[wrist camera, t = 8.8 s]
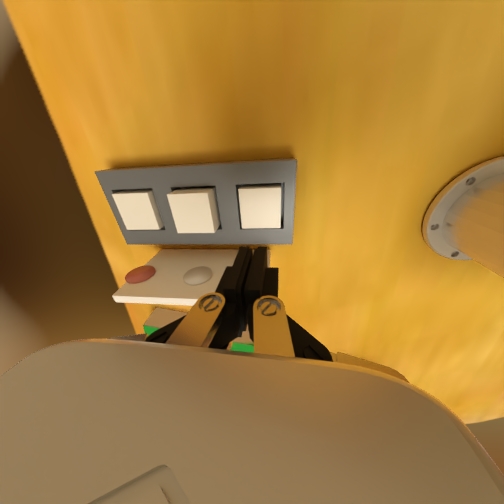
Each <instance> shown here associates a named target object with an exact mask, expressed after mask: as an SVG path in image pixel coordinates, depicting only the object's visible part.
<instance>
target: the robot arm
mask: <svg viewBox="0 0 504 504" xmlns="http://www.w3.org/2000/svg"><path fill="white" fill-rule="evenodd" d="M422 233H423V237H424V240H425V242H426V244H427V245H428V246H429V247H430V248H431V249H432V250H433V251H435V252H436V253H438V254H439V255H441V256H444V257H446V258H449V259H455V260H475V261H477V262H478V263H480V264H482V265H483V266H485V267H487V268H488V269H490V270H492V271H493V272H495V273H497V274H498V275H500V276H502V277H503V278H504V156H501V157H497V158H494V159H491V160H488V161H485V162H483V163H481V164H479V165H477V166H475V167H473V168H471V169H469V170H467V171H466V172H464V173H463V174H461V175H460V176H458V177H457V178H455V179H454V180H453V181H452V182H451V183H449V184H448V185H447V186H446V187H445V188H444V189H443V190H442V191H441V192H440V193H439V194H438V195H437V196H436V198H435V199H434V201H433V202H432V203H431V205H430V206H429V208H428V210H427V212H426V214H425V217H424V221H423V228H422ZM247 324H248V331H249V336H250V339H251V340H252V342H253V343H254V353H251V352H242V351H232V350H231V347H232V344H233V342H232V341H233V340H234V339H236V338H237V337H242V332H243V331H245V332H246V329H247ZM0 504H504V475H503V474H502V473H501V471H500V470H499V468H498V467H497V465H496V464H495V462H494V461H493V460H492V458H490V456H489V454H488V453H487V452H486V450H485V449H484V448H483V446H482V445H481V444H480V442H479V441H478V440H477V439H476V437H475V436H474V435H473V434H472V432H471V431H470V430H469V429H468V428H467V426H466V425H465V424H464V423H463V422H462V421H461V420H460V419H459V417H458V416H457V415H456V414H455V413H454V412H452V411H451V410H450V409H449V408H448V407H447V406H446V405H445V404H443V403H442V402H441V401H439V400H438V399H437V398H435V397H434V396H432V395H430V394H429V393H427V392H425V391H424V390H422V389H420V388H418V387H416V386H414V385H412V384H410V383H409V382H408V381H407V379H406V378H405V377H404V376H403V375H402V374H400V373H399V372H398V371H396V370H394V369H392V368H390V367H387V366H384V365H380V364H377V363H374V362H370V361H367V360H364V359H360V358H357V357H354V356H351V355H347V354H344V353H341V352H337V354H335V353H332V352H329V350H328V349H327V348H326V347H325V346H324V345H323V344H321V343H320V342H319V341H318V340H317V339H315V338H314V337H313V336H312V335H311V334H309V333H308V332H307V331H306V330H305V329H303V328H302V327H301V326H300V325H299V324H297V323H296V322H295V321H294V320H293V319H291V318H290V317H289V316H288V315H287V314H286V311H285V306H284V304H283V302H282V301H281V300H280V299H279V298H278V268H269V267H268V265H267V247H258V249H255V250H254V254H253V250H252V249H250V248H249V247H240V248H239V251H238V253H237V256H236V258H235V261H234V263H233V265H232V266H227V267H226V268H225V271H224V273H223V275H222V277H221V279H220V282H219V284H218V286H217V288H216V290H215V293H208V294H205V295H203V296H201V297H200V298H199V299H198V300H197V301H196V303H195V304H194V305H193V307H192V308H191V309H190V311H189V312H188V314H187V315H185V316H183V317H181V318H179V319H177V320H175V321H173V322H171V323H169V324H167V325H166V326H164V327H162V328H160V329H158V330H156V331H154V332H153V333H151V334H150V335H149V336H148V334H147V333H146V334H138V335H130V336H122V337H115V338H108V339H82V340H75V341H68V342H64V343H60V344H56V345H52V346H49V347H47V348H44V349H41V350H39V351H36V352H34V353H33V354H31V355H29V356H27V357H26V358H24V359H23V360H21V361H20V362H19V363H17V364H16V365H14V366H13V367H12V368H11V369H9V370H8V371H6V372H5V373H4V374H3V375H1V376H0Z"/></svg>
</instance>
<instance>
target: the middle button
mask: <svg viewBox="0 0 504 504" xmlns="http://www.w3.org/2000/svg"><path fill="white" fill-rule="evenodd" d="M167 197H168V201H169V204H170V208H171V211H172V215H173V218H174V222H175V225H176V229H177V232H178V233H215V232H216V230H217V229H218V227H219V226H220V224H221V221H220V215H219V208H218V202H217V195H216V189H215V187H207V188H183V189H177V190H175V191H173V192H171V193H169V194H167Z"/></svg>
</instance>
